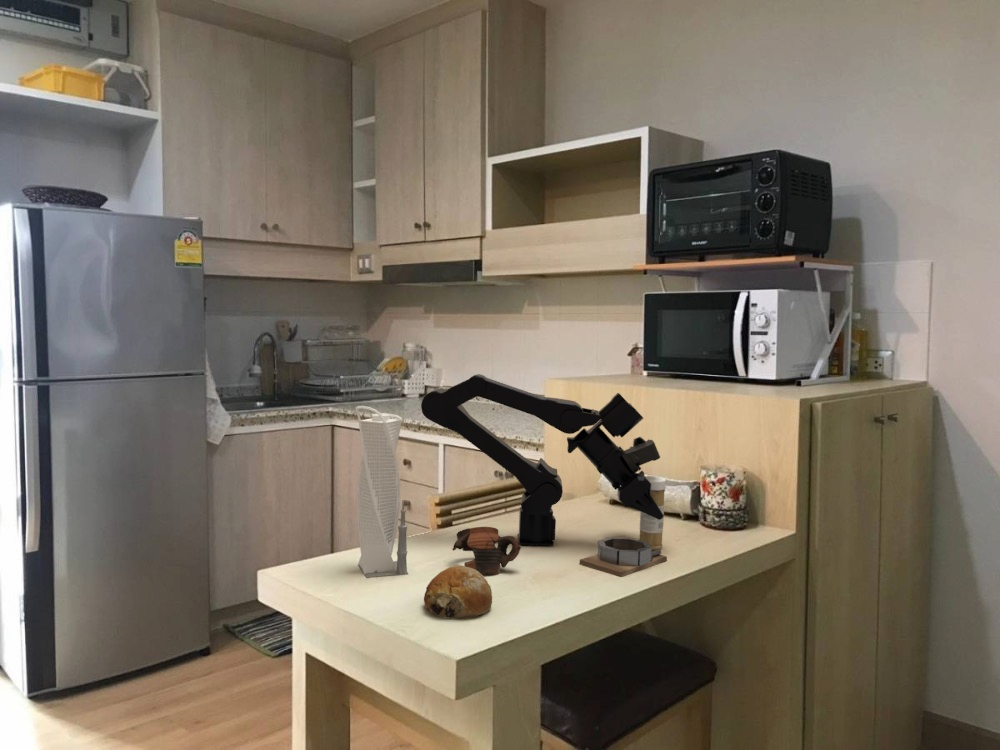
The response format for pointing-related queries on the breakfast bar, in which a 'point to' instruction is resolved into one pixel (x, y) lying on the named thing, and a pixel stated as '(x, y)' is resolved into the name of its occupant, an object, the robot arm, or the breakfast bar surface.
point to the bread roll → (458, 593)
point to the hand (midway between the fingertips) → (659, 513)
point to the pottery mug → (487, 548)
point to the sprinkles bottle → (650, 525)
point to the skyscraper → (380, 497)
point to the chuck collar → (625, 551)
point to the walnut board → (616, 569)
